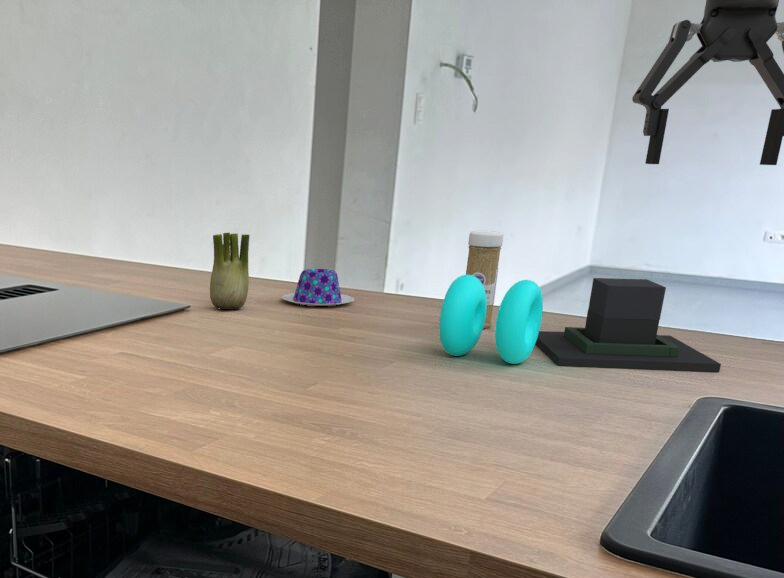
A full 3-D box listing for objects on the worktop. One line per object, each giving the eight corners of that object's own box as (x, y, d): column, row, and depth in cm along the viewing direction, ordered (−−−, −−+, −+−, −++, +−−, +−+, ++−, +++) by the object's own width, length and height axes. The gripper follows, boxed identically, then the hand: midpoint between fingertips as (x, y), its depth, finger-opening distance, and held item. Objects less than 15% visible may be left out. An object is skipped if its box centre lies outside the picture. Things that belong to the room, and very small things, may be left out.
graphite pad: (641, 310, 110) (647, 279, 109) (659, 320, 104) (666, 287, 103) (588, 309, 111) (593, 277, 110) (603, 318, 105) (608, 285, 104)
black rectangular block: (635, 341, 111) (641, 310, 110) (653, 352, 105) (659, 320, 104) (582, 339, 112) (587, 309, 111) (597, 350, 106) (602, 318, 105)
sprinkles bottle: (459, 328, 124) (470, 232, 119) (458, 322, 128) (469, 229, 123) (492, 330, 123) (505, 233, 118) (491, 324, 127) (502, 230, 122)
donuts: (459, 346, 113) (468, 269, 109) (538, 357, 107) (550, 276, 104) (431, 361, 105) (440, 278, 102) (515, 373, 99) (527, 286, 96)
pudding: (365, 307, 139) (367, 275, 137) (294, 310, 137) (295, 276, 135) (339, 295, 150) (340, 265, 148) (272, 297, 148) (274, 266, 146)
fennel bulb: (248, 307, 139) (251, 231, 135) (244, 313, 134) (246, 234, 130) (213, 305, 140) (215, 230, 136) (207, 311, 136) (208, 233, 132)
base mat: (668, 342, 115) (672, 326, 115) (719, 372, 100) (723, 353, 100) (528, 337, 118) (531, 321, 117) (557, 365, 103) (560, 347, 102)
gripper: (645, -29, 100) (613, 164, 107) (883, -34, 96) (834, 165, 103) (624, -17, 107) (596, 163, 114) (845, -22, 103) (802, 164, 110)
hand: (709, 164), depth 108 cm, fingers open, 13 cm apart
